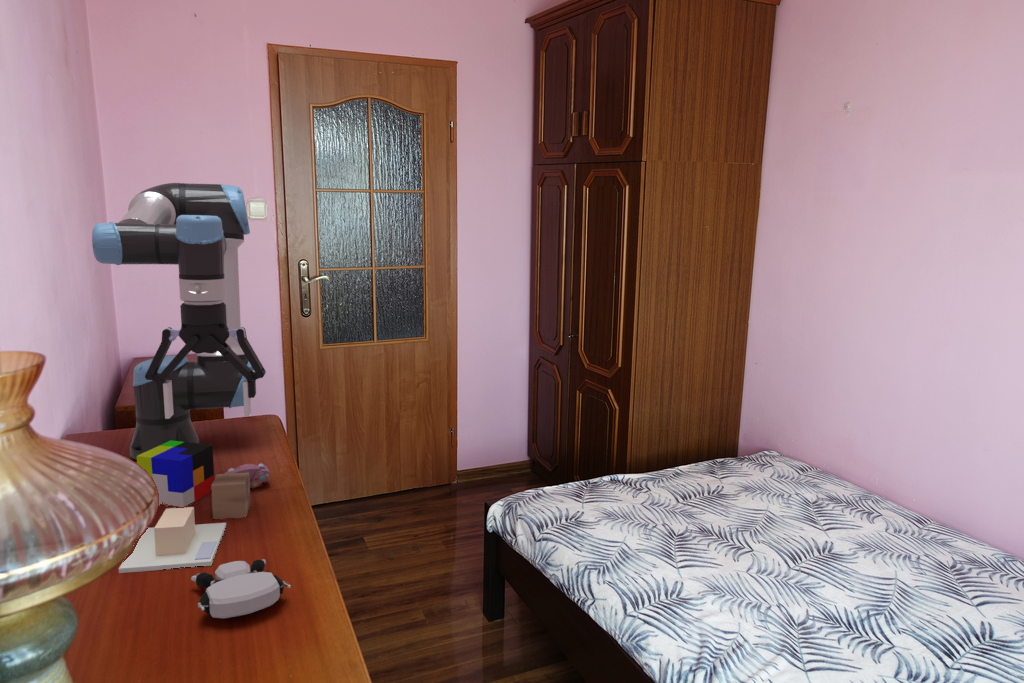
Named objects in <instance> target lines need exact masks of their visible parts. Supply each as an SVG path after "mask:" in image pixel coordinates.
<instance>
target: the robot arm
mask: <svg viewBox="0 0 1024 683" xmlns="http://www.w3.org/2000/svg"><path fill="white" fill-rule="evenodd" d="M245 200H246V199H245V195H244V191H243V190H242V189H241V188H240V187H239V186H236V185H230V184H223V183H220V184H217V183H184V182H183V183H181V182H170V183H164V184H159V185H155V186H152V187H149V188H146V189H144V190H142V191H141V192H139V193H137V194H135V195H134V197H133V198H132V199H131V200H130V202H129V204H128V210H127V212H126V213H125V215H124V216H122V218H121V219H120V220H119V221H118V222H113V221H110V222H99V223H96V224H95V225H94V226H93V227H92V228H93V229H92V232H91V234H92V235H91V243H92V244H91V246H92V253H93V256H94V258H95V260H96V261H97V262H98V263H100V264H105V265H107V264H108V265H117V266H120V265H178V286H179V287H178V288H179V300H180V301H182V303H181V304H180V305H179V306H180V323H181V325H180V326H181V327H180V329H175V328H174V329H173V327H170V326H168V327H166V328H165V329H163V330H162V332H161V342H160V344H159V347H158V348H157V350H156V352H155V354H154V356H153V358H150V359H146V360H144V361H140V363H138V364H136V365H135V367H134V368H133V372H132V373H133V377H132V378H133V381H132V386H133V394H134V409H135V418H136V419H135V422H136V424H135V429H134V431H133V436H132V437H131V442H130V445H129V456H130V458H131V457H132V458H133V459H135V460H137V456H138V455H140V454H142V453H144V452H147V451H149V450H151V449H153V448H155V447H157V446H160V445H162V444H164V443H166V442H168V441H180V442H190V443H199V444H200V439H199V436H198V434H197V432H196V430H195V427H194V425H193V422H192V420H191V410H193V411H194V410H206V409H209V410H210V409H220V408H221V409H223V408H224V409H225V408H228V409H231V408H236V407H237V408H238V407H243V416H244V417H250V415H251V413H252V410H251V409H252V408H251V406H252V405H251V399H254V398H255V397H256V395H257V384H256V381H257V380H259V379H262V378H264V377H265V375H266V373H267V371H266V369H265V368H264V365H263V364H262V362H261V361H260V358H259V357H258V355H257V354H256V352H255V349H254V348H253V347H252V345H251V343H250V342H249V340H248V337H247V336H248V335H247V331H246V328H245V327H243V326H242V325H241V304H240V274H239V250H238V249H239V248H240V246H242V244H244V242H245V235H249V234H250V233H251V230H250V224H249V219H248V214H247V208H246V207H247V206H246V202H245ZM177 337H179V338H180V339H181V341H182V342H183V343H184V345H183V347H182V348H181V349H180V350H179V351H178V353H177V354H170V355H167V353H168V351H169V349H170V346H171V345H172V343H173V342H174V341H175V340H177ZM190 352H193V353H194V354H196V360H197V361H196V360H195V361H188V360H189V359H188V357H187V356H188V354H189V353H190ZM132 458H131V459H132ZM133 459H132V460H133ZM135 460H134V461H135Z"/></svg>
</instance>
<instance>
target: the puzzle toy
mask: <svg viewBox="0 0 1024 683" xmlns="http://www.w3.org/2000/svg"><path fill="white" fill-rule="evenodd" d="M137 464H138V465H140V466H141V467H142V468H143V469H145V470H146V471H147V472H148V474H149V475H150V476H151V477H152V478H153V480H154V482H155V484H156V486H157V489H158V493H159V505H158V506H160V504H162V502H163V504H164V503H165V504H168V505H173V506H179V507H184V506H186V505H188V504H190V503H192V502H194V501H195V500H197V499H199V498H200V499H202V498H203V497H205V496H207V495H208V494H210V493H212V492H211V491H212V490H211V485H212V483H213V481H214V479H215V467H214V466H215V465H214V464H215V463H214V446H213V444H209V443H207V444H206V443H200V442H199V443H190V442H180V441H168V442H166V443H164V444H162V445H160V446H157V447H155V448H153V449H151V450H149V451H147V452H144V453H142V454H140V455H138V456H137V461H136V465H137ZM206 494H207V495H206ZM204 495H205V496H204ZM201 497H202V498H201ZM200 499H199V500H200ZM197 501H198V500H197ZM195 502H196V501H195ZM195 502H194V503H195ZM192 504H193V503H192ZM190 505H191V504H190Z"/></svg>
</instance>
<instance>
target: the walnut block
mask: <svg viewBox="0 0 1024 683" xmlns="http://www.w3.org/2000/svg"><path fill="white" fill-rule="evenodd" d="M211 490H212V492H211V504H212V505H211V506H212V507H211V508H212V510H211V511H212V520H213V519H220V520H224V519H223V518H235V519H245V518H247V517H248V514H247V513H249V511H248V510H250V508H251V488H250V483H249V473H231V474H224V473H217V474H216V475H215V476H214V481H213V483H212V485H211ZM249 507H250V508H249ZM246 516H247V517H246ZM241 517H242V518H241ZM243 517H245V518H243Z"/></svg>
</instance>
